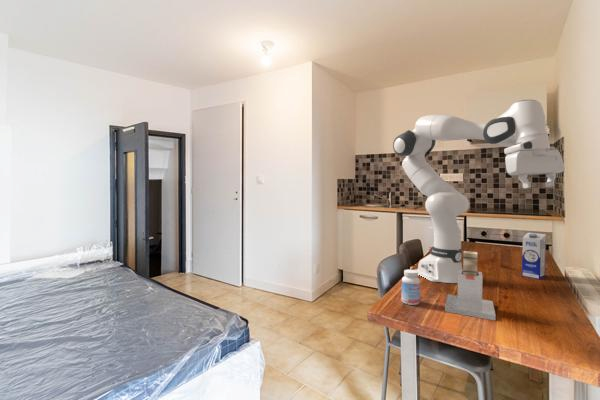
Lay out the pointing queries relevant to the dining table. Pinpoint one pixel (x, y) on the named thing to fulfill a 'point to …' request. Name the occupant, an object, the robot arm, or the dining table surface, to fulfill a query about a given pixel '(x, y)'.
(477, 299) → the sleeve
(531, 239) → the milk carton
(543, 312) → the dining table surface
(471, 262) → the post
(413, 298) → the pill bottle
